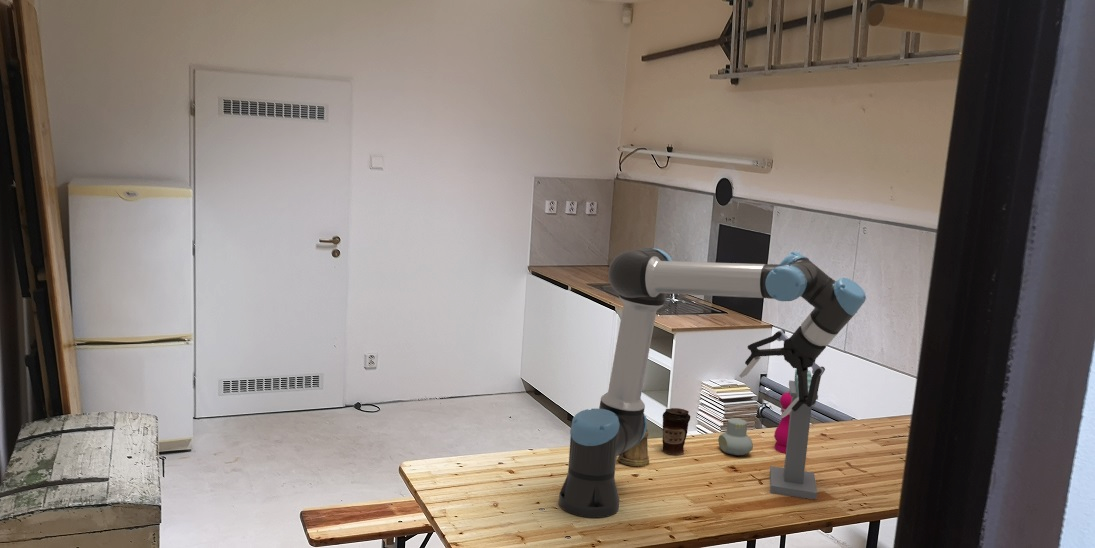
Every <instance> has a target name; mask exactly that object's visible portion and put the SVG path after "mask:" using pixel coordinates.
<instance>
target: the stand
mask: <svg viewBox="0 0 1095 548" xmlns="http://www.w3.org/2000/svg"><path fill="white" fill-rule="evenodd" d="M789 389H790V396H792V401H791V403H792V402H793V401H794V400H795V399H796V398H797V393H796V386H795V380H791V379H790V380H788V390H789ZM818 394H819V393H817V398H816V401H818V400H819V395H818ZM812 409H813V405H812V406H811V407H808V406H807V405H806V404H803V405H802V406H801V407H800V409H798V410H797V411H795V412H794V411H793V410H791V412H790V420H789V429H788V438H787V447H786V453H785V458H784V464H783V465H784V466H783V467H780V466H772V465H770V469H769V490H770V491H769V493H770V494H775V495H776V494H777V495H781V496H788V497H795V498H800V499H806V498H807V499H809V500H813V499H815V500H814V501H817V499H818V488H817V482H816V478H815V472H812V471H806V470H805V469H806V460H807V454H808V453H807V450H808V443H809V433H810V427H811V425H810V424H811V416H812Z"/></svg>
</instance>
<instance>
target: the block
mask: <svg viewBox="0 0 1095 548" xmlns="http://www.w3.org/2000/svg"><path fill="white" fill-rule="evenodd" d="M811 378H812V371H811V370H808V372H807V380H808V393H809V388H810V383H811ZM794 381H795V386H796V393H797V397H799V390H798V375H797V369H796V368H795V370H794Z"/></svg>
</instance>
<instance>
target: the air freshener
mask: <svg viewBox="0 0 1095 548" xmlns="http://www.w3.org/2000/svg"><path fill="white" fill-rule="evenodd" d="M726 426H727V427H726V431H725V432H722V433H721V434H720V435H719V436H718V441H717V442H718V446H719V448H720V450H722V451H723V452H724V453H725V454H728V455H732V456H744V455H747V454H749V453H750V452H752V451H753V448H754V443H753V440H752V438H751V436H749V435H748V434H747V433H748V422H747V420H744V419H743V418H742V419H741V418H729V419H728V420H727V425H726Z"/></svg>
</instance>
